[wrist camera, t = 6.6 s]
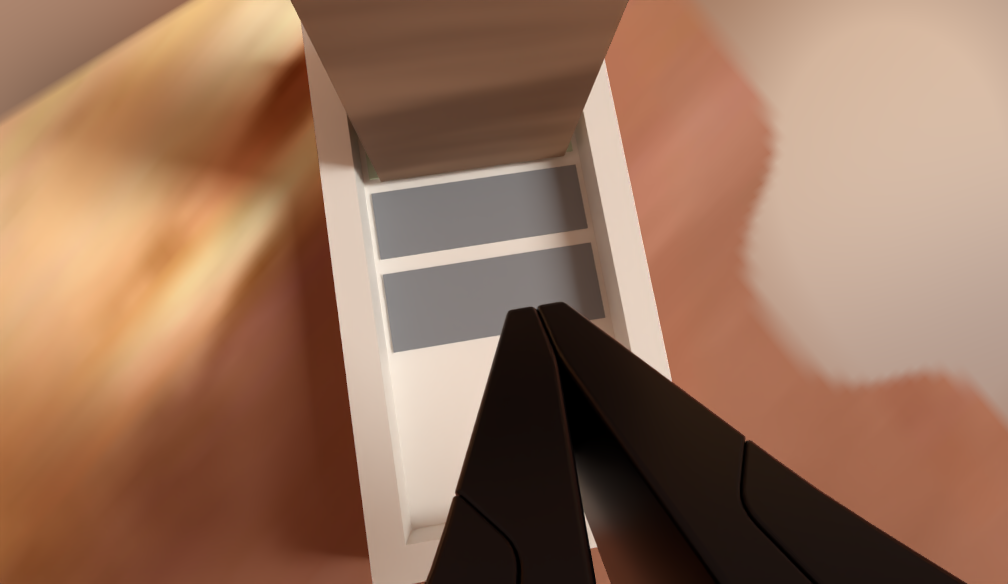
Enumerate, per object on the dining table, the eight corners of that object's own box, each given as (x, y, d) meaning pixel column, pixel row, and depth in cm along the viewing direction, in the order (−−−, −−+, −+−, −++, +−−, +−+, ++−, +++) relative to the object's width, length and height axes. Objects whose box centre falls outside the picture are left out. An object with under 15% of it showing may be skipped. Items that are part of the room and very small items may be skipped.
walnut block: (564, 156, 18) (676, -117, 8) (380, 182, 17) (254, -73, 7) (542, 44, 18) (622, -343, 8) (364, 66, 18) (225, -315, 8)
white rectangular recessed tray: (670, 504, 18) (702, 526, 15) (388, 559, 17) (373, 591, 14) (574, 30, 20) (588, -19, 17) (322, 61, 19) (300, 15, 17)
